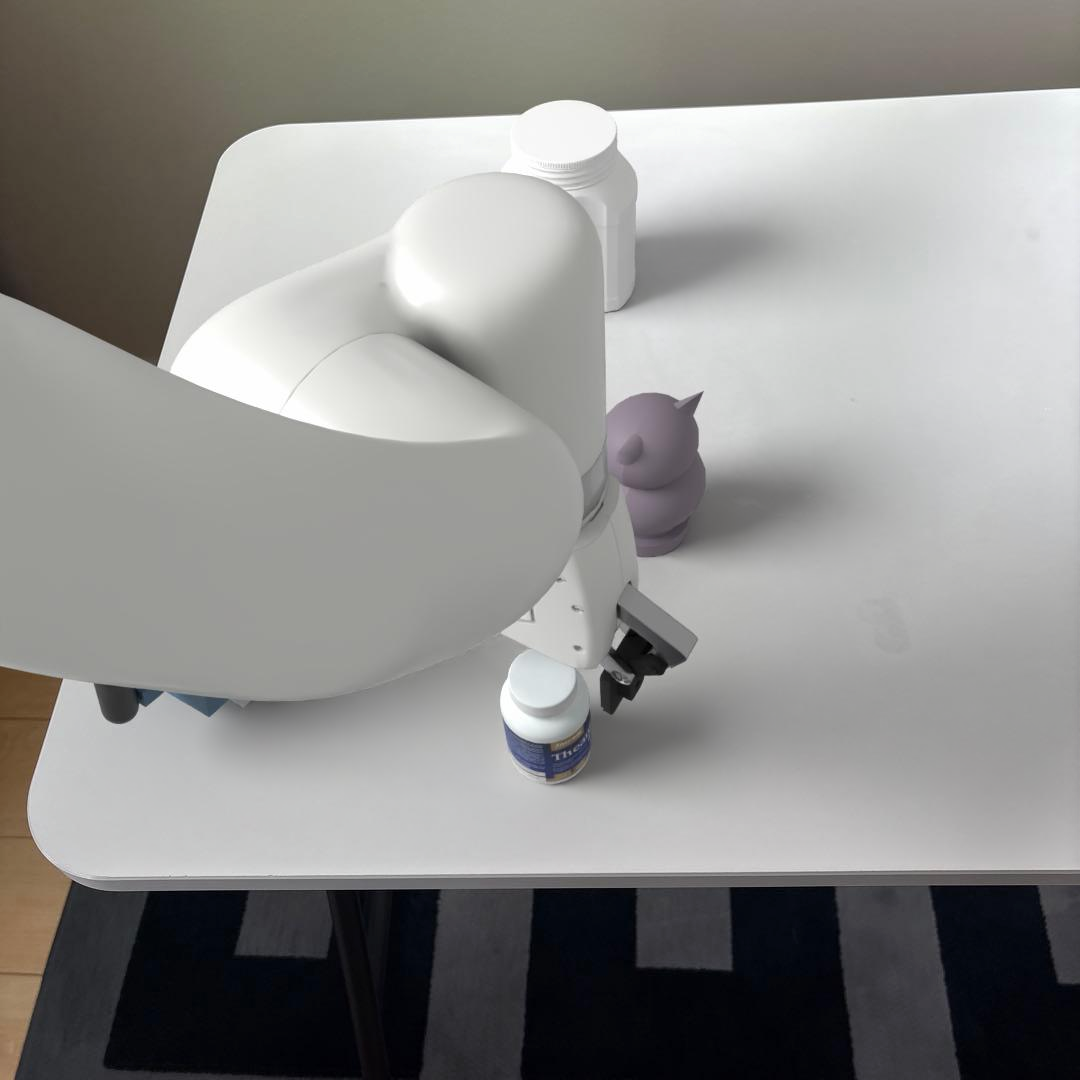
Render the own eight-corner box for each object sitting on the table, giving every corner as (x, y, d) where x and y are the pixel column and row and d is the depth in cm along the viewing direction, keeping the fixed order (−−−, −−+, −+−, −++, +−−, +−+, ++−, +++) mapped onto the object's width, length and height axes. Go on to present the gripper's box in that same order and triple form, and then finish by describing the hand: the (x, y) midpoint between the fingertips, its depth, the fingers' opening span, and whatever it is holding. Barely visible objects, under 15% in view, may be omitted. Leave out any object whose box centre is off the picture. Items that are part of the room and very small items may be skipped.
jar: (619, 235, 97) (620, 83, 85) (647, 305, 92) (653, 153, 79) (496, 258, 96) (479, 108, 84) (516, 330, 91) (502, 181, 79)
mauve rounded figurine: (648, 459, 82) (653, 346, 72) (725, 518, 78) (741, 407, 69) (567, 522, 79) (560, 413, 69) (643, 586, 75) (647, 481, 66)
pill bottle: (564, 801, 66) (558, 735, 59) (493, 761, 68) (477, 691, 60) (607, 733, 69) (606, 660, 61) (537, 695, 71) (527, 620, 63)
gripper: (303, 446, 46) (378, 639, 60) (660, 610, 40) (651, 782, 54) (402, 335, 50) (451, 542, 64) (744, 472, 44) (715, 667, 58)
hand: (543, 652), depth 59 cm, fingers open, 9 cm apart
